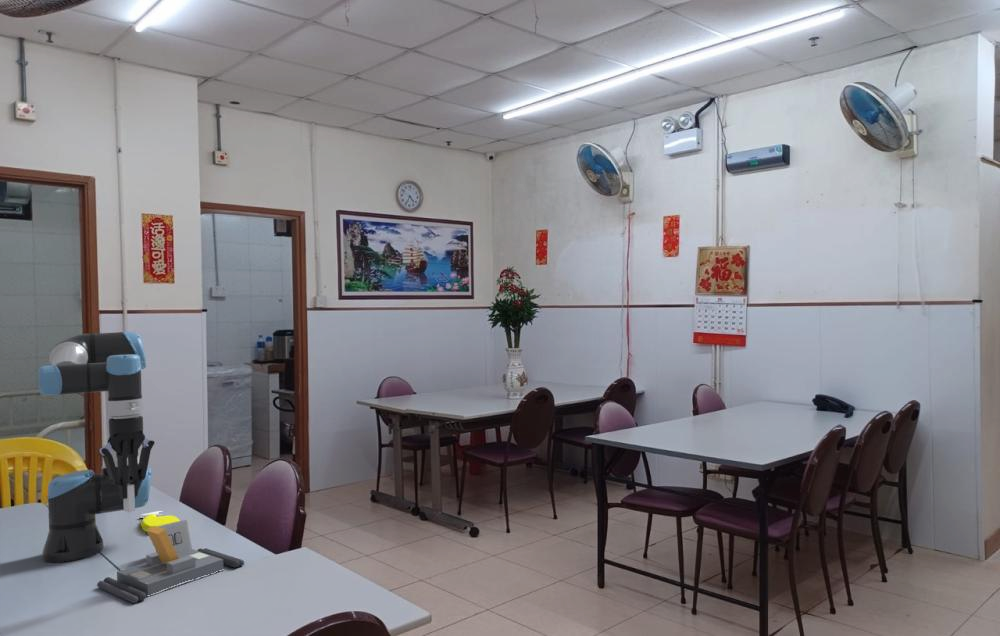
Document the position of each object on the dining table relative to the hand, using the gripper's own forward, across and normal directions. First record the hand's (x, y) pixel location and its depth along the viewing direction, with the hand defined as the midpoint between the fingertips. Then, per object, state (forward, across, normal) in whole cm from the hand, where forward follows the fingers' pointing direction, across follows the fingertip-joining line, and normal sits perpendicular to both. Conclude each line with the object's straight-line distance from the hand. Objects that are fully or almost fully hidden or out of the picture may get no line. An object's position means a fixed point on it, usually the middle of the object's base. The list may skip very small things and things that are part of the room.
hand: (129, 510), depth 172 cm
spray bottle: (+20, +33, +52) cm, 65 cm away
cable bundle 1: (+20, -2, 0) cm, 20 cm away
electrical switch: (+20, +19, +17) cm, 33 cm away
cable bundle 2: (+20, +23, 0) cm, 30 cm away
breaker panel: (+20, +10, 0) cm, 22 cm away
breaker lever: (+16, +10, 0) cm, 19 cm away
